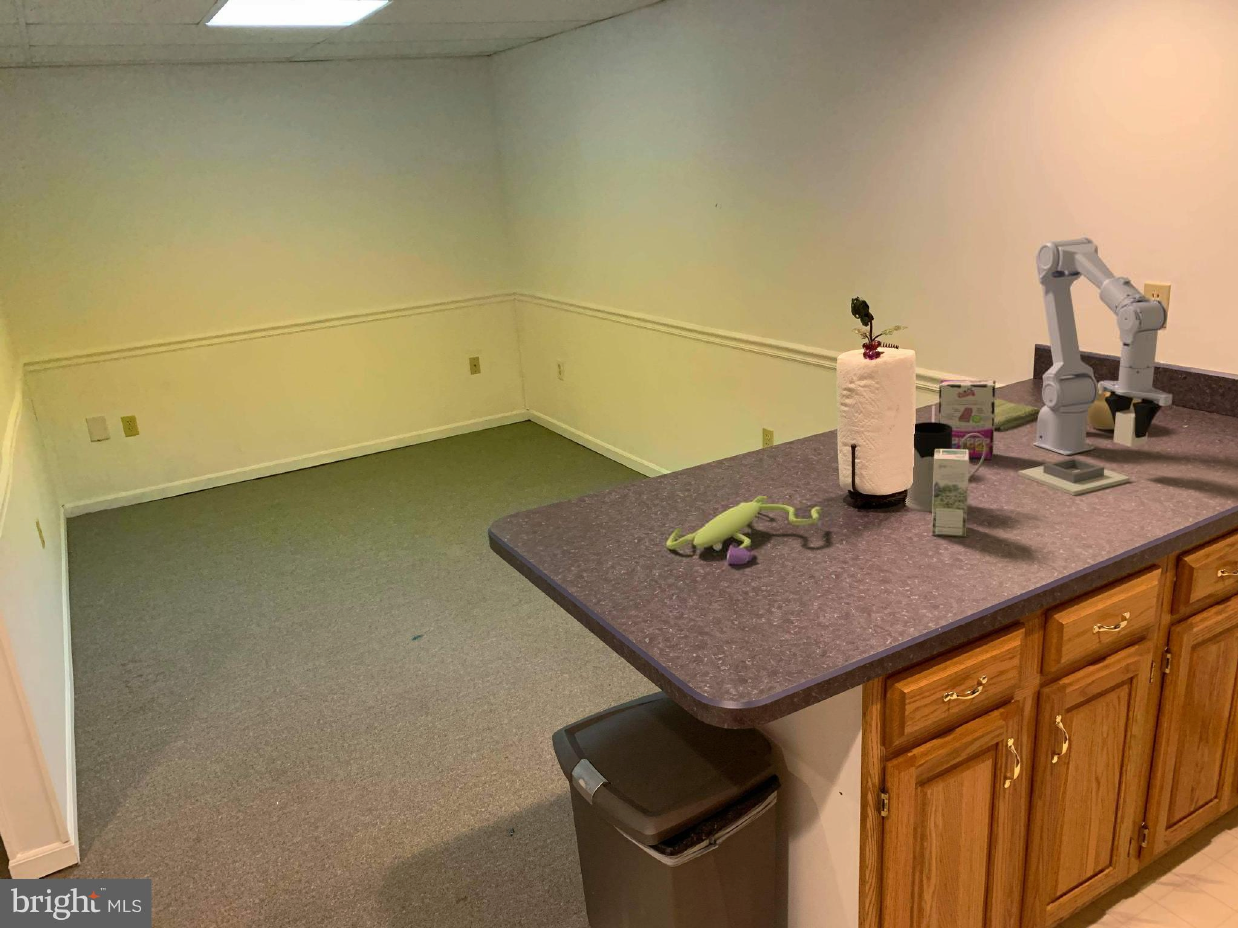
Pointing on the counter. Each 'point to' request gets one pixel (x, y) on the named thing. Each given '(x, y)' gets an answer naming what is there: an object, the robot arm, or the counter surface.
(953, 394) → the candy bar box
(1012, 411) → the washcloth
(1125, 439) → the block
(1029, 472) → the charging dock
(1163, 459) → the counter surface
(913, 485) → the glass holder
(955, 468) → the syrup box
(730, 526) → the figurine
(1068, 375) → the robot arm
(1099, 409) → the sculpture
